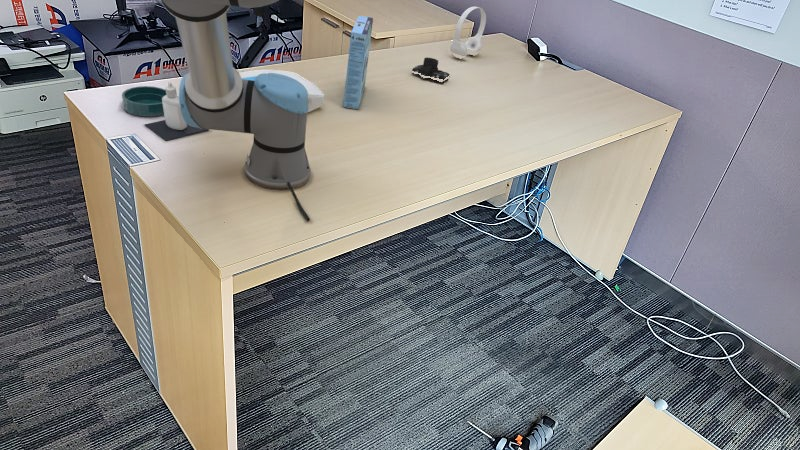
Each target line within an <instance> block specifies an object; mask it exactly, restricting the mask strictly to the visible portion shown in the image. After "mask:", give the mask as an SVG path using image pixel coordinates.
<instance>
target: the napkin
mask: <svg viewBox="0 0 800 450" xmlns="http://www.w3.org/2000/svg"><path fill="white" fill-rule="evenodd" d="M144 126H145V127H146V128H147V129H149V130H150V131H151V132H152V133H154V134H156V135H157V136H158V137H160V138H161V139H162V140H164V141H165V142H168V141H169V142H170V141H172V140H175V139H180V138H185V137H189V136H193V135H197V134H201V133H205V132H209V131H210V129H200V128H197V127H192V126H189V125H188V124H187V127H186V128H185V129H183V130H175V129H172V128H170V127H168V126H167V125H166V122H165V119H163V120H158V121H154V122H150V123H145V124H144Z"/></svg>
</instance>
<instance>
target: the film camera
mask: <svg viewBox="0 0 800 450" xmlns="http://www.w3.org/2000/svg"><path fill="white" fill-rule="evenodd" d="M438 65H439V60H438V59H436V58H433V57H424V58H423V62H422V64H418V65H415V66H414V67H412V69H411V72H412V71H414V72H418V73H421V75H424V76H430V77H434V78H439V79H443V80H444V79H445V78H446V77H448V76H449V75H450V76H451V74H450V73H449V72H446V71H443V70H441V69H439V68H438ZM412 75H414V76H417V77H420V79H422V80H424V81H427V80H429V81H430V82H432V83H433V84H434V83H435V84H442V83H441V82H439V81H437V80H433V79H431V78H423V77H421V76H420V75H419V74H414V73H412ZM450 76H449V77H450Z"/></svg>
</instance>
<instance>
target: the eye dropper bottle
mask: <svg viewBox="0 0 800 450" xmlns="http://www.w3.org/2000/svg"><path fill="white" fill-rule="evenodd" d="M167 84H168V85H167V86H166V87H165V88H164V89H165V90H166V95H165V96H164V97H163V98H162V104H163V110H164V115H163V116H164V120H165V122H166V125H167V126H168V127H170V128H172V129H175V130H183V129H185V128H186V127H187V123H186V122H185V121H184V119H183V117H182V114H181V110H180V103H179V95H178V92H177V87H176V86H174V85H173V83H172V82H171V81H169V82H168V83H167Z"/></svg>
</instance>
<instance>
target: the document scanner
mask: <svg viewBox="0 0 800 450" xmlns="http://www.w3.org/2000/svg"><path fill="white" fill-rule="evenodd" d="M238 73H239V74H240V76H241V78H242V79H245V80H252V81H255V79H256V77H257V76H258V75H259V74H262V73H267V74H268V73H276V74H281V75H285V76H288V77H291V78H293V79H295V80H297V81H298V82H300V83H301V84H303V85H304V87H305V88H306V90H307V92H308V107H309V109H308V112H307V114H308V113H310V112H312V111H314V110H317V109H318V108H321V107H323V106H324V103H325V94H324V92H323V91H321V90H320V88H319V87H318V86H317V85H316V84H315V83H313V82H311V80H308V79H306V78H305V77H303V76H301V75H300V74H298V73H296V71H289V70H288V71H287V70H283V69H264V68H263V69H262V68H260V69H254V70H247V71H238Z"/></svg>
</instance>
